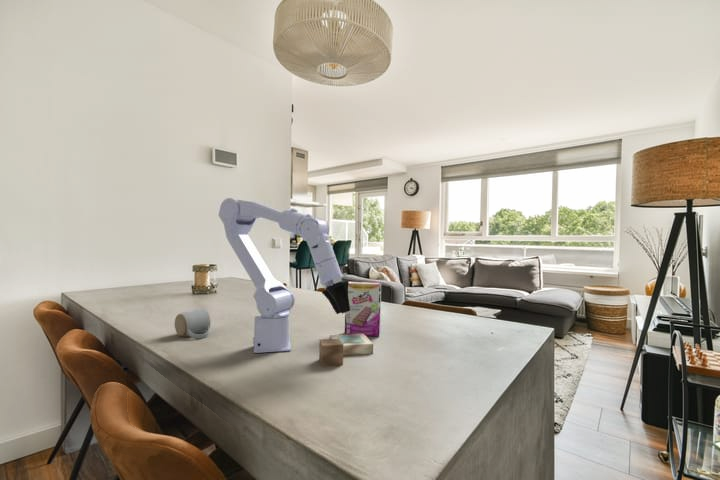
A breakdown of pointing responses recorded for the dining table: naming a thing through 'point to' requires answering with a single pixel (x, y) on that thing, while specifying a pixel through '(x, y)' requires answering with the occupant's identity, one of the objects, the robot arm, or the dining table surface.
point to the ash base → (354, 344)
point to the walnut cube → (331, 352)
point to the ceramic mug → (193, 323)
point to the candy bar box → (363, 309)
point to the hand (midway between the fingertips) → (343, 312)
